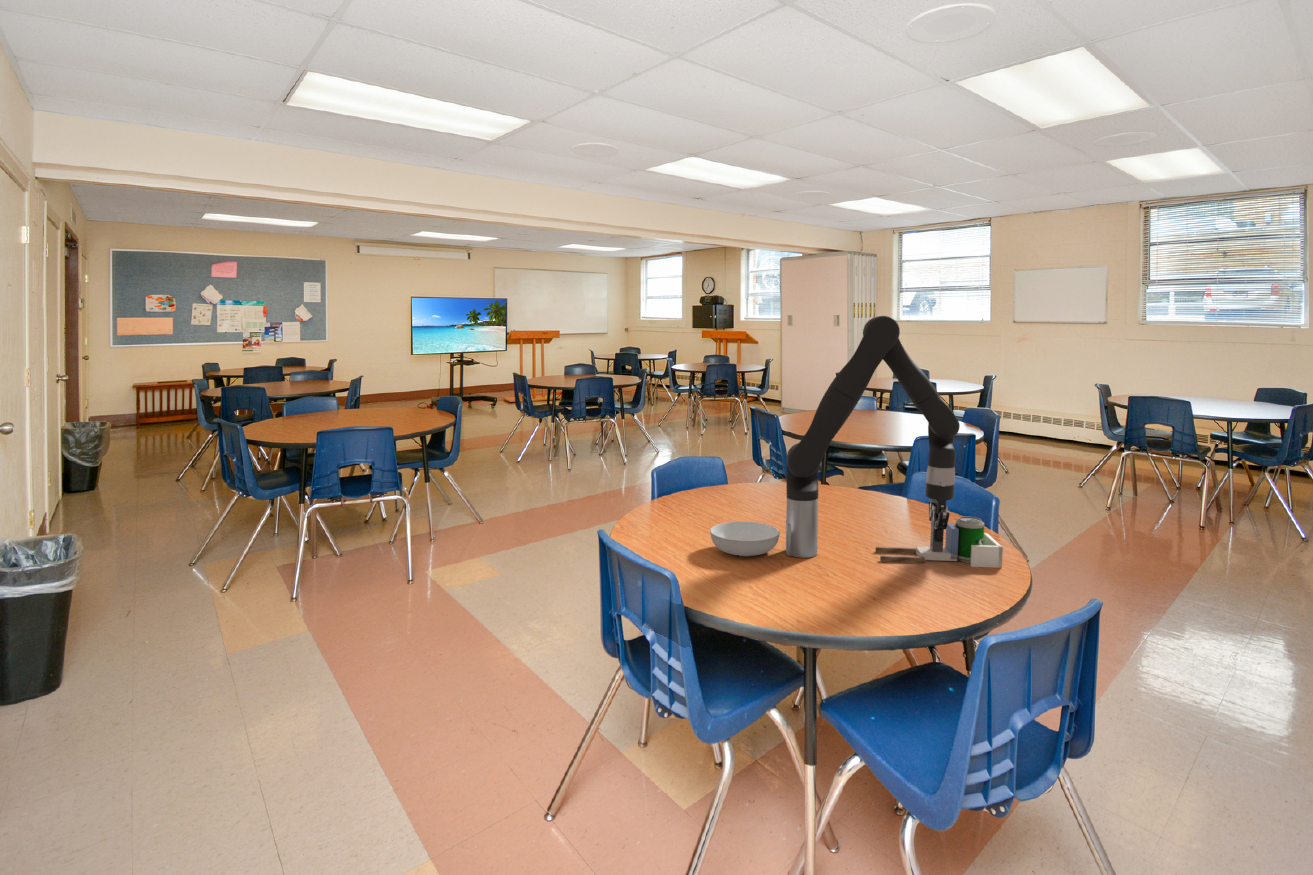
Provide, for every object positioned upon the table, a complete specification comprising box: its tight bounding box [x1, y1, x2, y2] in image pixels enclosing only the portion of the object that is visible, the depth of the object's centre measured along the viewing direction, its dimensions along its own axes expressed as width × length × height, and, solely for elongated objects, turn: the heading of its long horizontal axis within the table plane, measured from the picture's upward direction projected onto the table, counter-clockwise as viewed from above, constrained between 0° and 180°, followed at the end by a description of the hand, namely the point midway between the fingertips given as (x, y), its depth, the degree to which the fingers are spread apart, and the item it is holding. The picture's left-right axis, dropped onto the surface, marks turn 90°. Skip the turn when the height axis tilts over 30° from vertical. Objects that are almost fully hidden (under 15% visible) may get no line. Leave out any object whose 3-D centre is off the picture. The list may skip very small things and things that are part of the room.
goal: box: [969, 532, 1004, 569], centre depth 192 cm, size 8×13×6 cm, turn 171°
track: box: [875, 546, 926, 564], centre depth 196 cm, size 12×9×2 cm
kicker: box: [915, 516, 959, 562], centre depth 193 cm, size 10×6×12 cm, turn 81°
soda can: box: [954, 515, 985, 563], centre depth 192 cm, size 8×8×12 cm
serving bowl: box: [709, 520, 781, 557], centre depth 203 cm, size 21×21×7 cm
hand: (936, 539), depth 193 cm, fingers closed on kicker, 3 cm apart
